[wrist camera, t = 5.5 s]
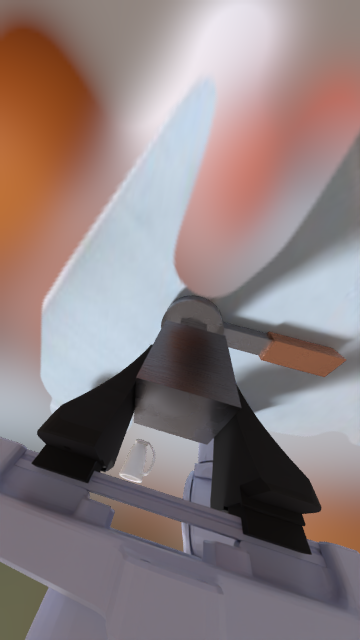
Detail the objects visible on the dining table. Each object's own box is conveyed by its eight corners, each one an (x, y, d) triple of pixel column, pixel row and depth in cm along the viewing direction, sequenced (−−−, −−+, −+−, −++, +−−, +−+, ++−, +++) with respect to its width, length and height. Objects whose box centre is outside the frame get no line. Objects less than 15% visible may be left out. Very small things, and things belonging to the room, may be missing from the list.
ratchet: (348, 334, 15) (396, 365, 11) (302, 374, 19) (327, 408, 15) (170, 288, 16) (158, 303, 12) (162, 336, 20) (151, 358, 16)
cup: (128, 436, 44) (113, 472, 37) (153, 437, 41) (142, 477, 34) (138, 446, 47) (127, 480, 40) (163, 447, 44) (155, 485, 37)
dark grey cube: (225, 335, 12) (241, 407, 6) (206, 373, 14) (207, 444, 9) (166, 319, 12) (136, 377, 7) (158, 360, 15) (133, 422, 10)
